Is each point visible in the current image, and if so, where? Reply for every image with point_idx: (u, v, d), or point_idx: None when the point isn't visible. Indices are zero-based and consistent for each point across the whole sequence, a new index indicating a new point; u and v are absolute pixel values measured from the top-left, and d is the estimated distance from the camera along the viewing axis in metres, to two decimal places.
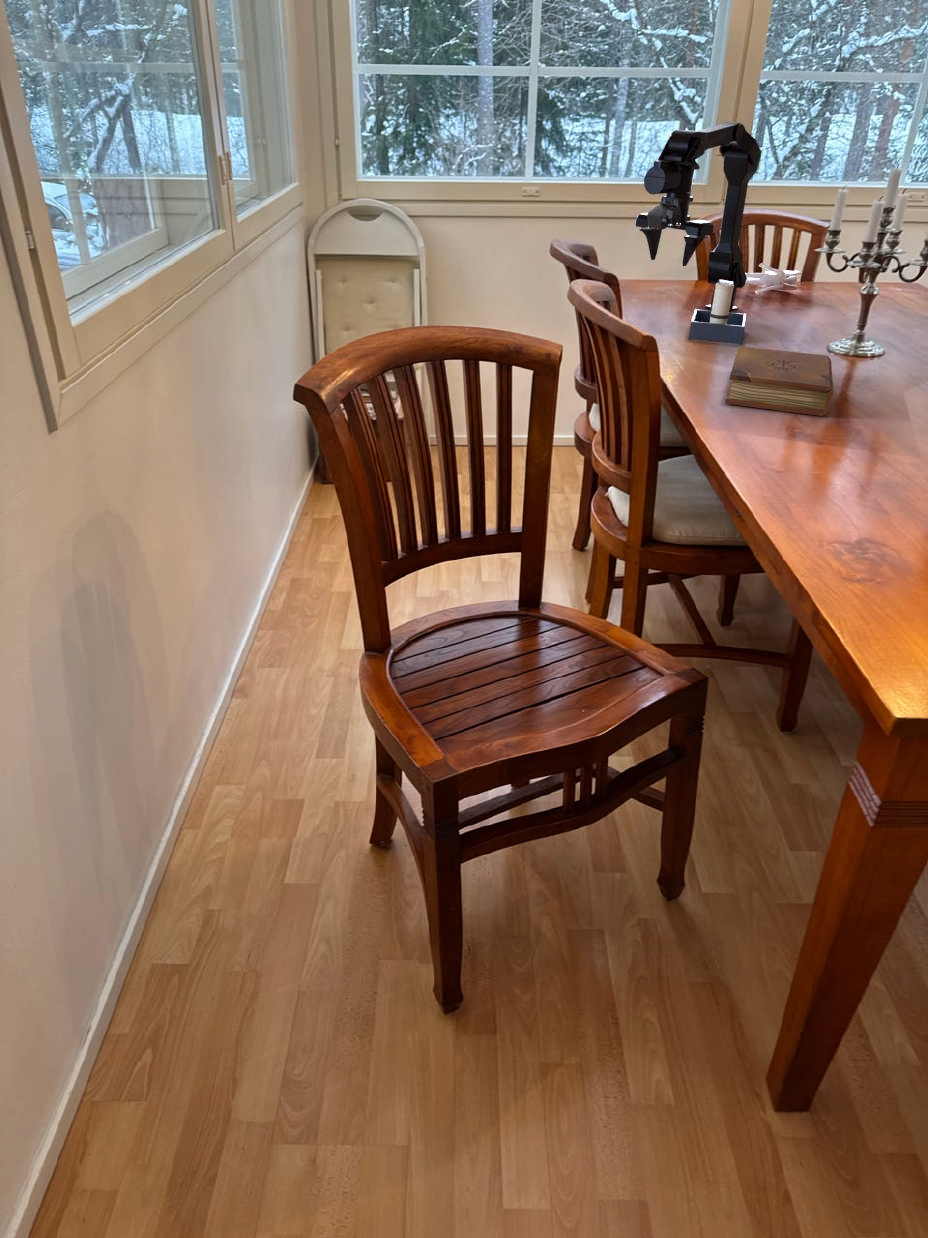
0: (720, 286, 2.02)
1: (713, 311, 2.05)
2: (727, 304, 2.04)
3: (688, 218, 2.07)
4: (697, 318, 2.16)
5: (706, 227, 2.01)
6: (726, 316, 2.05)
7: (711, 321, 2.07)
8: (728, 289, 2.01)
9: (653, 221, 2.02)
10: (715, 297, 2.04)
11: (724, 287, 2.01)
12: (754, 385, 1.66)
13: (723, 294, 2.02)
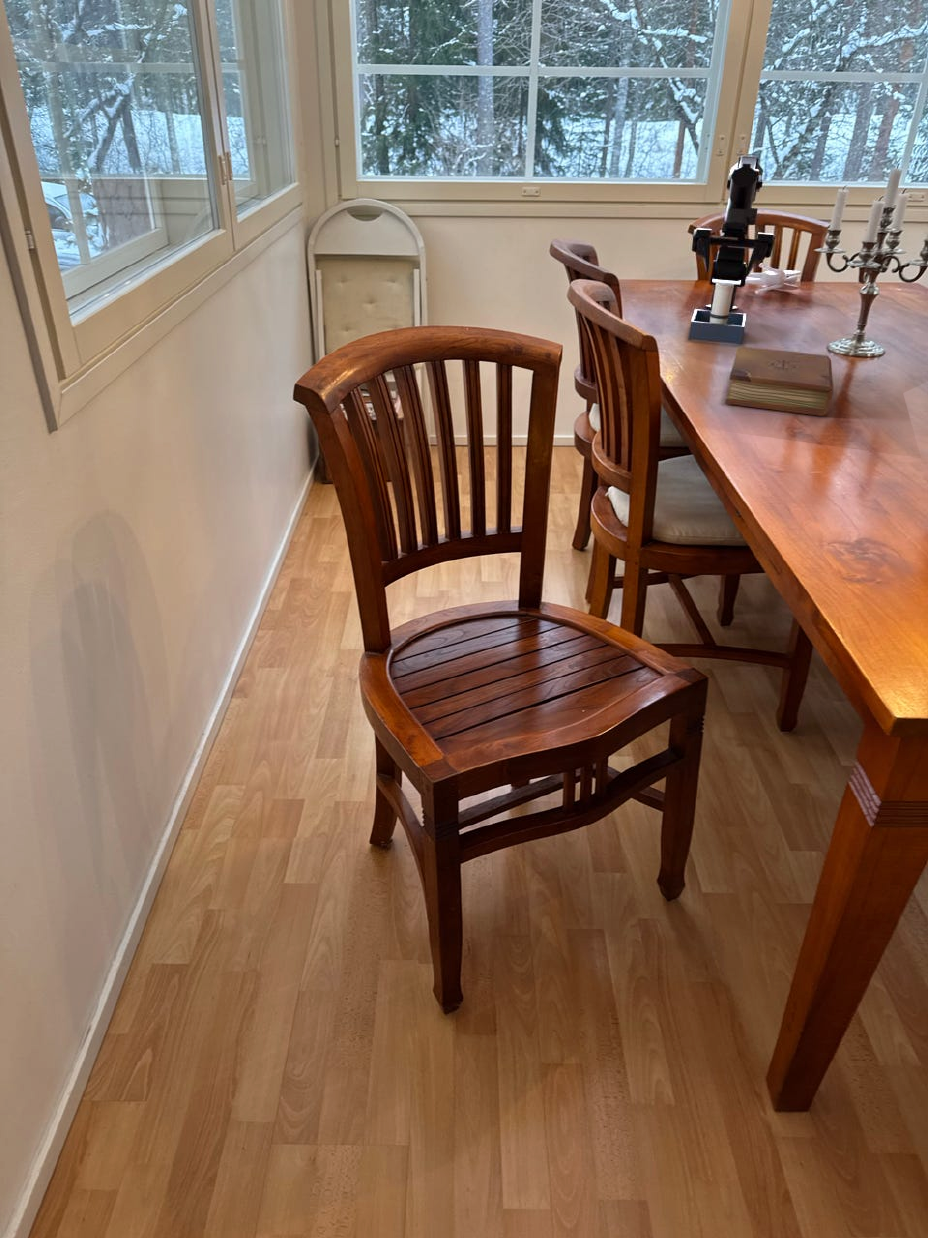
0: (720, 286, 2.02)
1: (713, 311, 2.05)
2: (727, 304, 2.04)
3: None
4: (697, 318, 2.16)
5: None
6: (726, 316, 2.05)
7: (711, 321, 2.07)
8: (728, 289, 2.01)
9: (736, 215, 2.03)
10: (715, 297, 2.04)
11: (724, 287, 2.01)
12: (754, 385, 1.66)
13: (723, 294, 2.02)
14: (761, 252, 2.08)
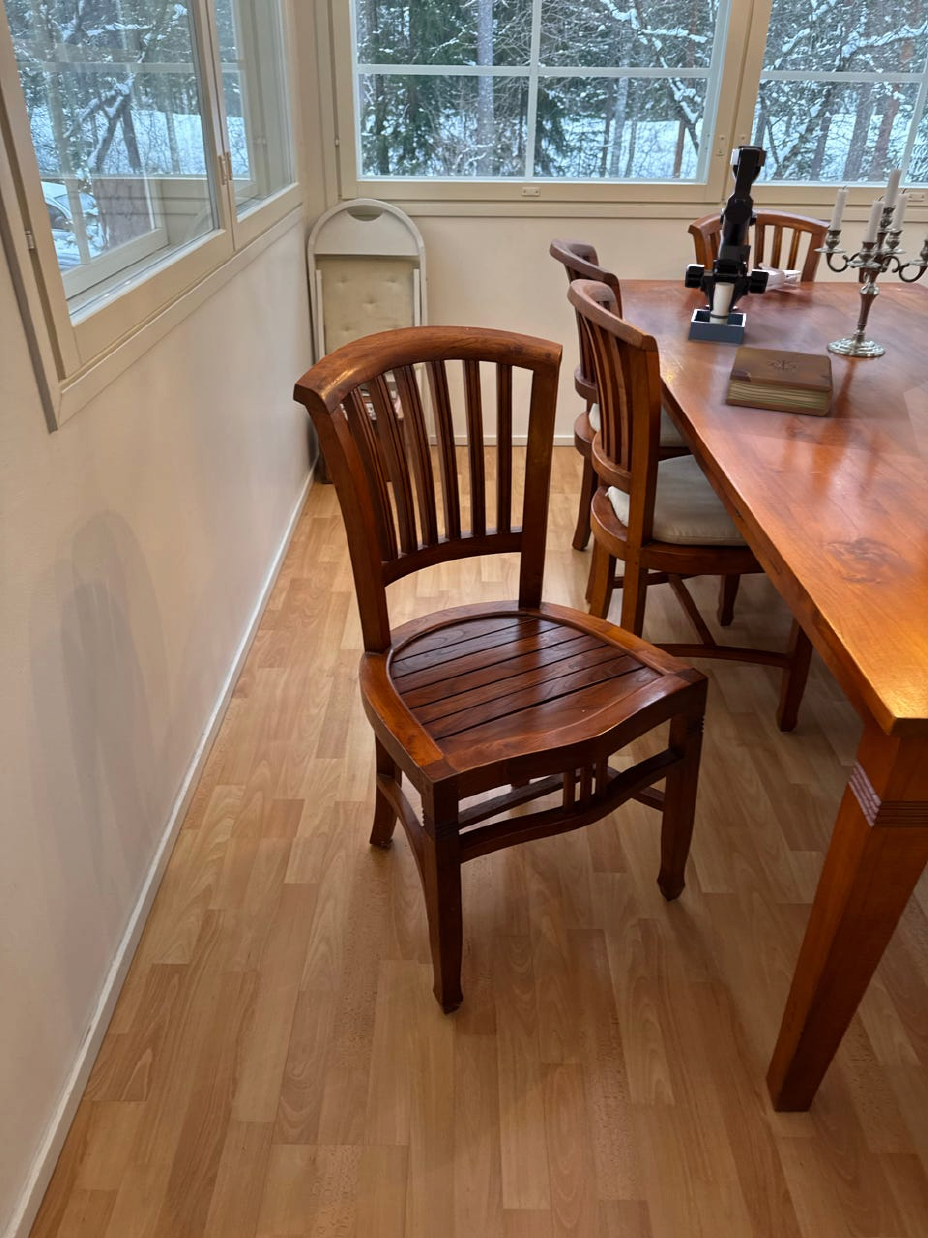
0: (720, 286, 2.01)
1: (713, 311, 2.05)
2: (727, 304, 2.03)
3: None
4: (697, 318, 2.16)
5: None
6: (726, 316, 2.05)
7: (711, 321, 2.07)
8: (728, 289, 2.01)
9: (729, 252, 1.99)
10: (715, 297, 2.04)
11: (724, 287, 2.01)
12: (754, 385, 1.66)
13: (723, 294, 2.02)
14: (744, 288, 2.05)
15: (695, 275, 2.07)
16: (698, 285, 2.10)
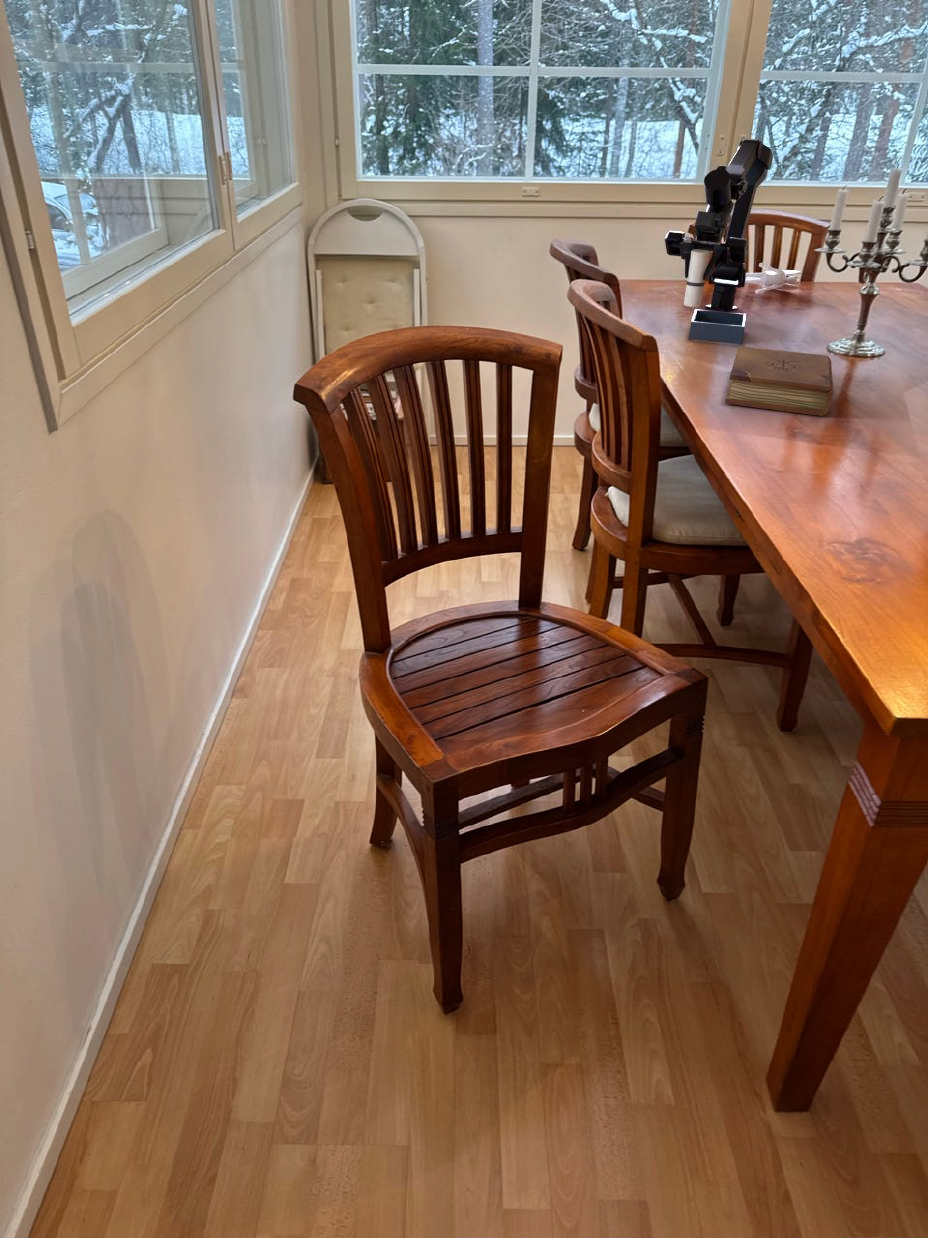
0: (694, 252, 2.00)
1: (688, 278, 2.04)
2: (701, 272, 2.02)
3: None
4: (697, 318, 2.16)
5: (747, 246, 2.00)
6: (701, 284, 2.03)
7: (686, 288, 2.05)
8: (702, 256, 2.00)
9: (704, 218, 1.97)
10: (690, 264, 2.02)
11: (698, 254, 2.00)
12: (754, 385, 1.66)
13: (697, 260, 2.01)
14: (722, 256, 2.02)
15: (676, 242, 2.07)
16: None
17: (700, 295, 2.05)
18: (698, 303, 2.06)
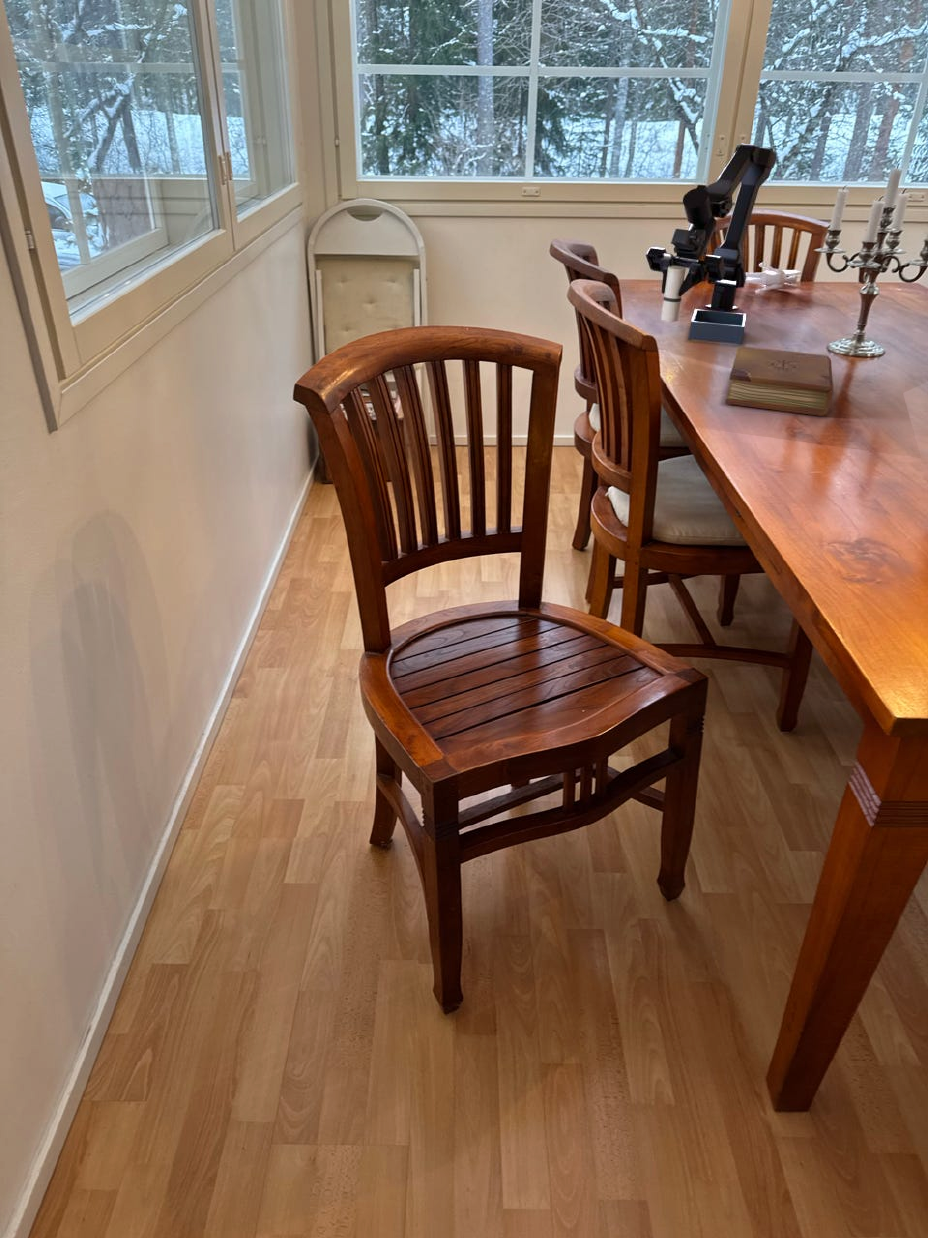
0: (670, 269, 2.05)
1: (664, 294, 2.08)
2: (677, 288, 2.06)
3: None
4: (697, 318, 2.16)
5: (723, 264, 2.03)
6: (676, 299, 2.07)
7: (663, 303, 2.10)
8: (677, 272, 2.04)
9: (680, 235, 2.02)
10: (666, 280, 2.07)
11: (673, 270, 2.04)
12: (754, 385, 1.66)
13: (672, 276, 2.05)
14: (699, 273, 2.06)
15: (657, 258, 2.12)
16: None
17: (676, 310, 2.09)
18: (674, 318, 2.10)
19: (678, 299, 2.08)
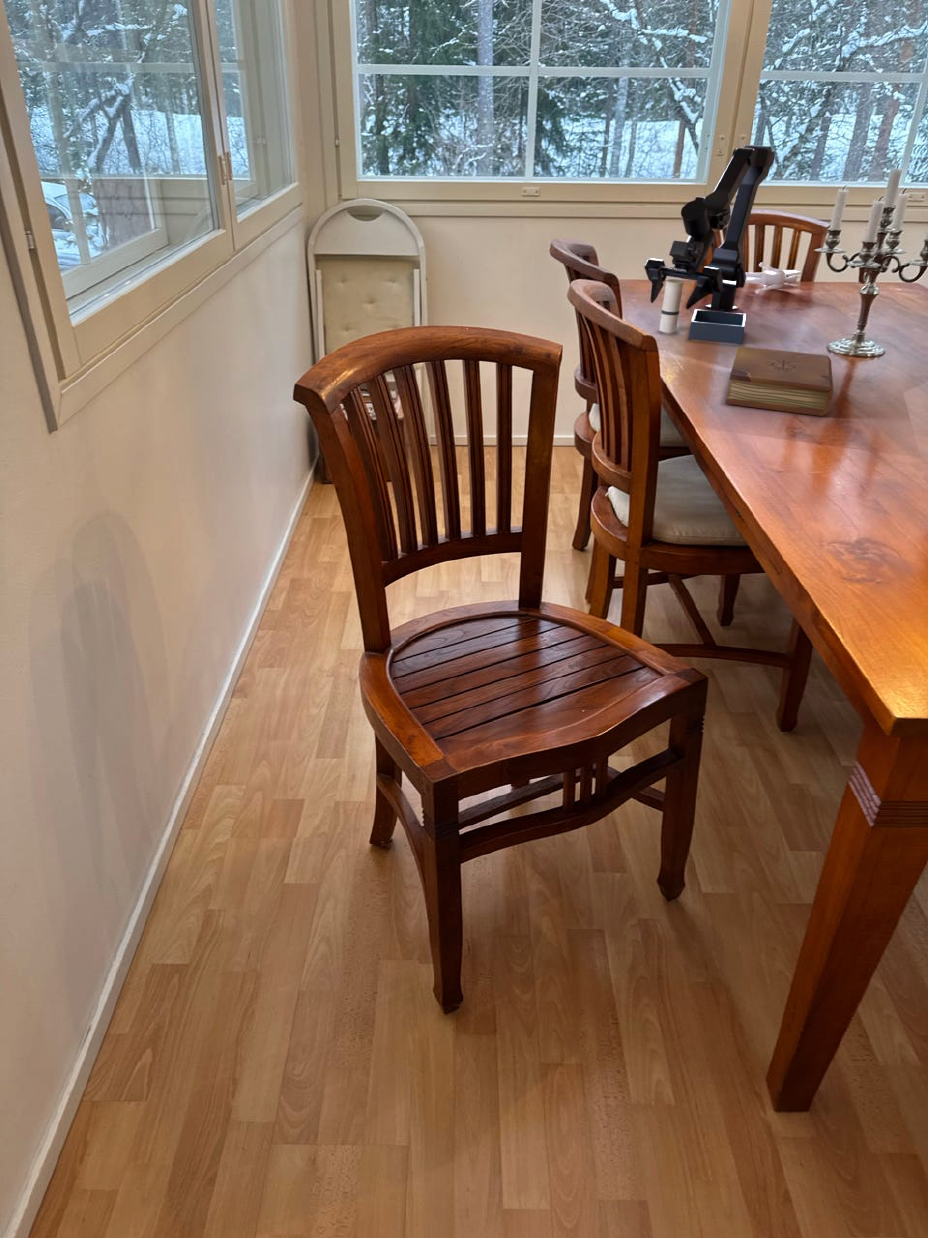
0: (667, 282, 2.06)
1: (662, 307, 2.10)
2: (674, 301, 2.08)
3: None
4: (697, 318, 2.16)
5: (721, 276, 2.05)
6: (674, 313, 2.09)
7: (661, 317, 2.11)
8: (675, 286, 2.06)
9: (678, 247, 2.03)
10: (664, 293, 2.09)
11: (670, 284, 2.06)
12: (754, 385, 1.66)
13: (670, 290, 2.07)
14: (707, 286, 2.06)
15: None
16: None
17: (674, 324, 2.11)
18: (672, 331, 2.11)
19: (676, 312, 2.09)
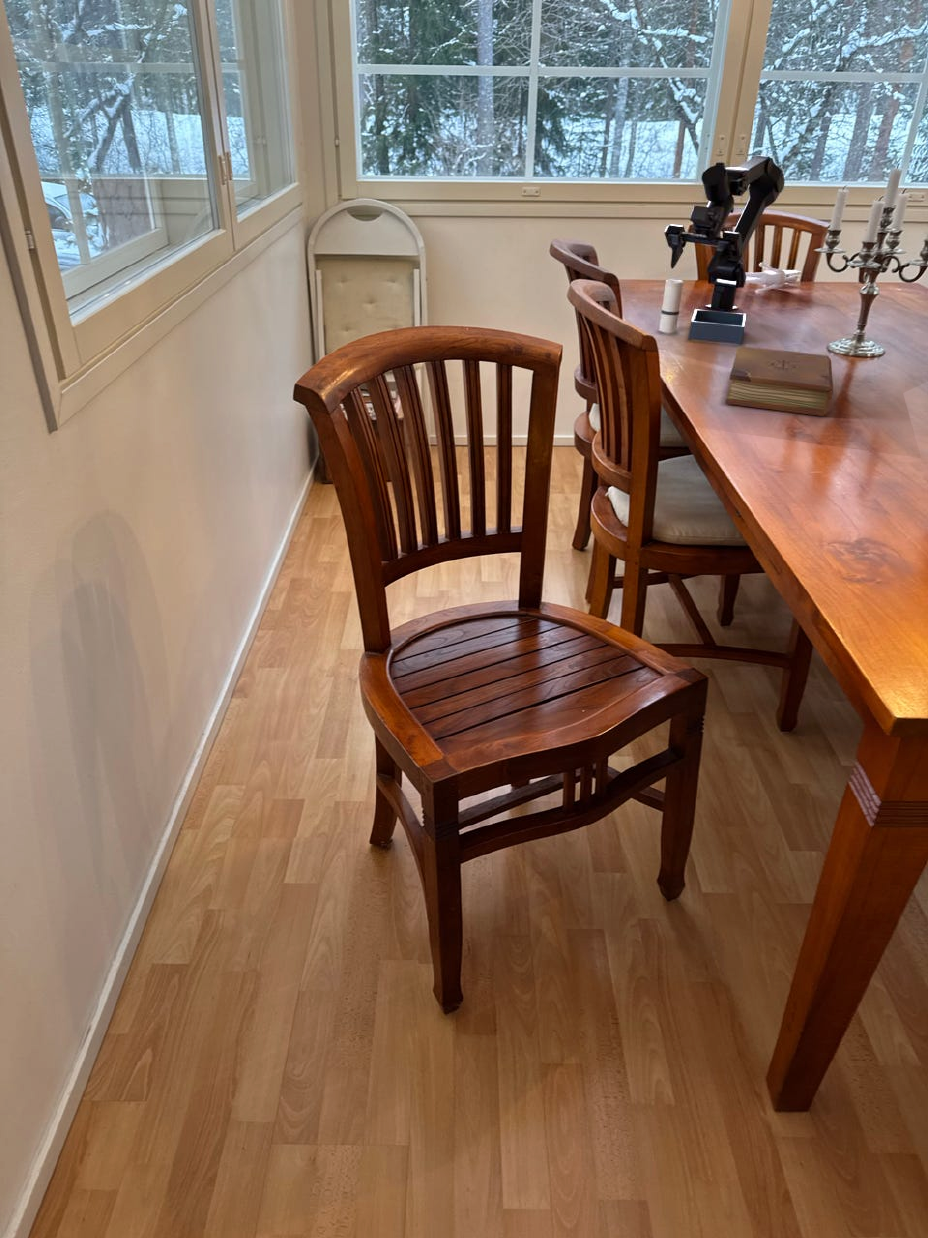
0: (667, 282, 2.06)
1: (662, 307, 2.10)
2: (674, 301, 2.08)
3: None
4: (697, 318, 2.16)
5: (741, 241, 2.07)
6: (674, 313, 2.09)
7: (661, 317, 2.11)
8: (675, 286, 2.06)
9: (699, 212, 2.06)
10: (664, 293, 2.09)
11: (670, 284, 2.06)
12: (754, 385, 1.66)
13: (670, 290, 2.07)
14: (727, 251, 2.09)
15: None
16: None
17: (674, 324, 2.11)
18: (672, 331, 2.11)
19: (676, 312, 2.09)
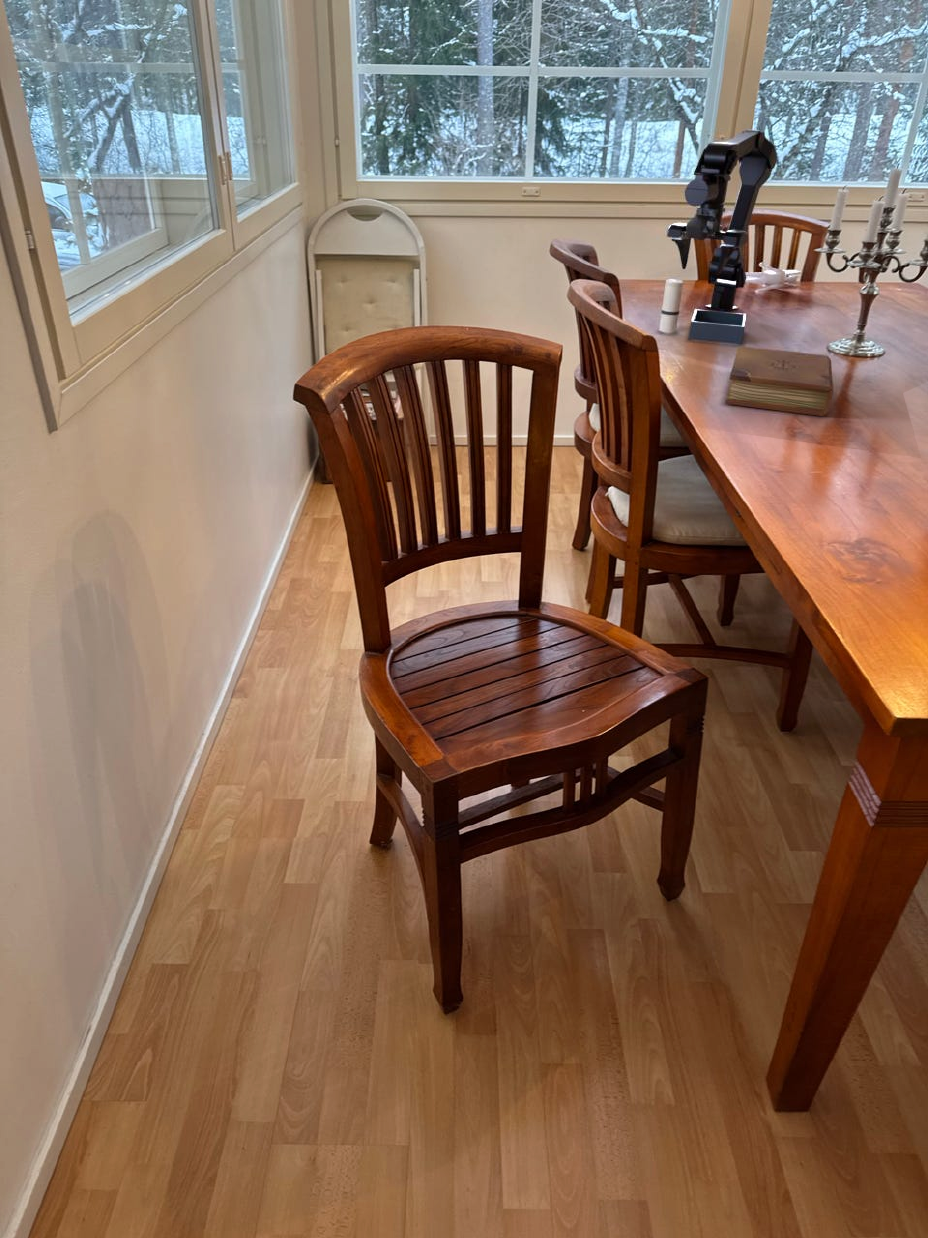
0: (667, 282, 2.06)
1: (662, 307, 2.10)
2: (674, 301, 2.08)
3: (720, 228, 2.13)
4: (697, 318, 2.16)
5: (743, 236, 2.08)
6: (674, 313, 2.09)
7: (661, 317, 2.11)
8: (675, 286, 2.06)
9: (693, 232, 2.07)
10: (664, 293, 2.09)
11: (670, 284, 2.06)
12: (754, 385, 1.66)
13: (670, 290, 2.07)
14: None
15: None
16: None
17: (674, 324, 2.11)
18: (672, 331, 2.11)
19: (676, 312, 2.09)
